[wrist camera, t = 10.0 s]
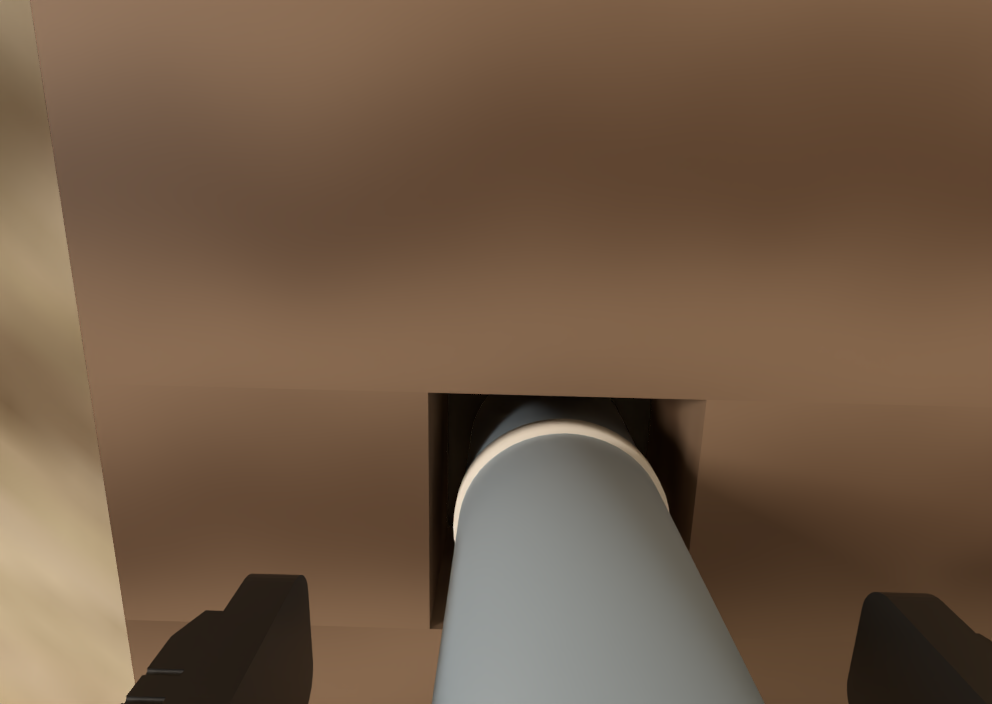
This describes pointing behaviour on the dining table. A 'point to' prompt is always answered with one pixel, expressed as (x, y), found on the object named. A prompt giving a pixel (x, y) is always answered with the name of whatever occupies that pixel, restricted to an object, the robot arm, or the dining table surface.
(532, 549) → the peg
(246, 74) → the socket block
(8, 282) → the dining table surface
